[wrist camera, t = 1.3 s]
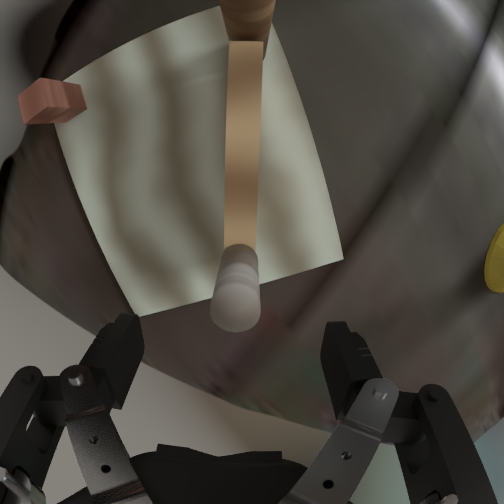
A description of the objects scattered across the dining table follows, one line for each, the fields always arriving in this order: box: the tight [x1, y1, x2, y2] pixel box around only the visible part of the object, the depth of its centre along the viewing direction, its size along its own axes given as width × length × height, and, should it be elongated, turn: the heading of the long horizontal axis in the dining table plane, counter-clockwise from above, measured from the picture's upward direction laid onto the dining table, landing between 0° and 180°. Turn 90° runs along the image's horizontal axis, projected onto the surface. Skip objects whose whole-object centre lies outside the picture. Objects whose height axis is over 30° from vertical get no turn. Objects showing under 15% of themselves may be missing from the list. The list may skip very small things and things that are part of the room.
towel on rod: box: [18, 0, 343, 317], centre depth 20 cm, size 24×28×16 cm
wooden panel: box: [210, 41, 263, 332], centre depth 19 cm, size 17×2×15 cm, turn 178°
